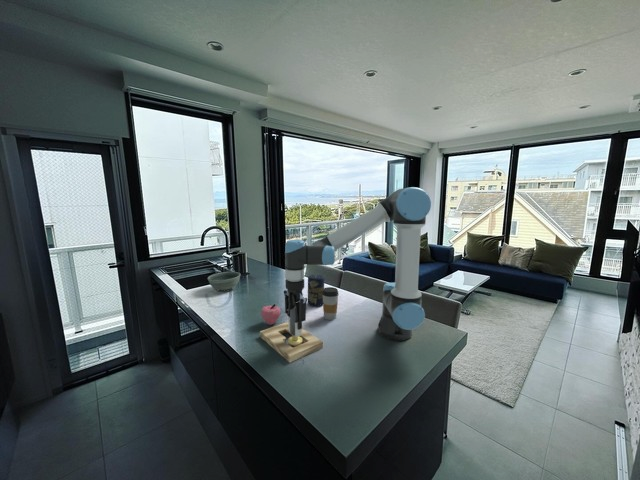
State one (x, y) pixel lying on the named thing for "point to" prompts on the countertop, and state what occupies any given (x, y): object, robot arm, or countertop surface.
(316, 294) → the canister
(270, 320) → the apple
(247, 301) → the countertop surface
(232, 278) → the bowl
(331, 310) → the coffee cup
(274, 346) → the keyhole board
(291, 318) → the peg
